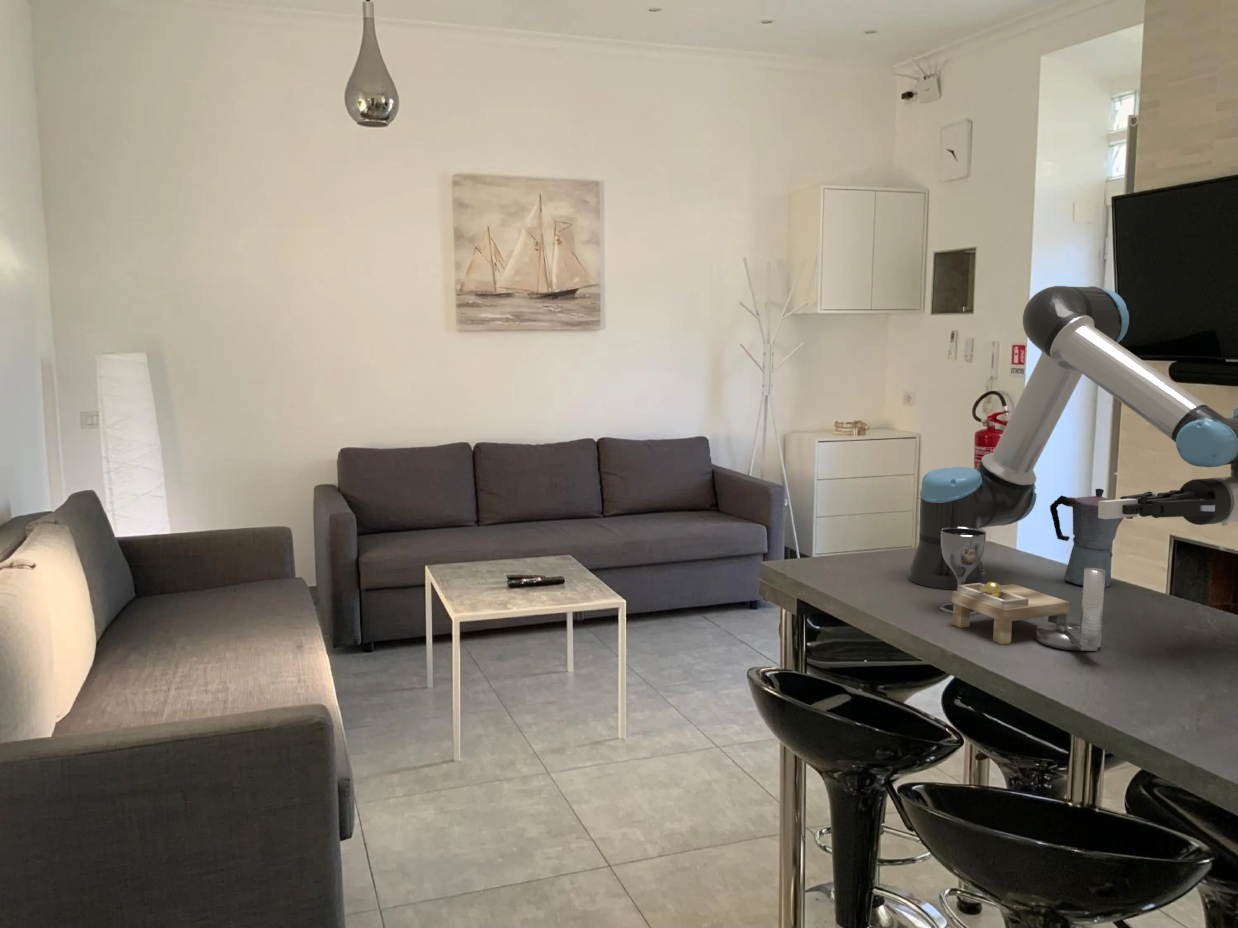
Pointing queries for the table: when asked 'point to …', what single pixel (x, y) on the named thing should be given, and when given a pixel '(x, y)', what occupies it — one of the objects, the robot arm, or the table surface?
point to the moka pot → (1087, 536)
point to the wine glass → (962, 553)
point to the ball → (992, 589)
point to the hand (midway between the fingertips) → (1102, 510)
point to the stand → (1006, 607)
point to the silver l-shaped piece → (1091, 619)
